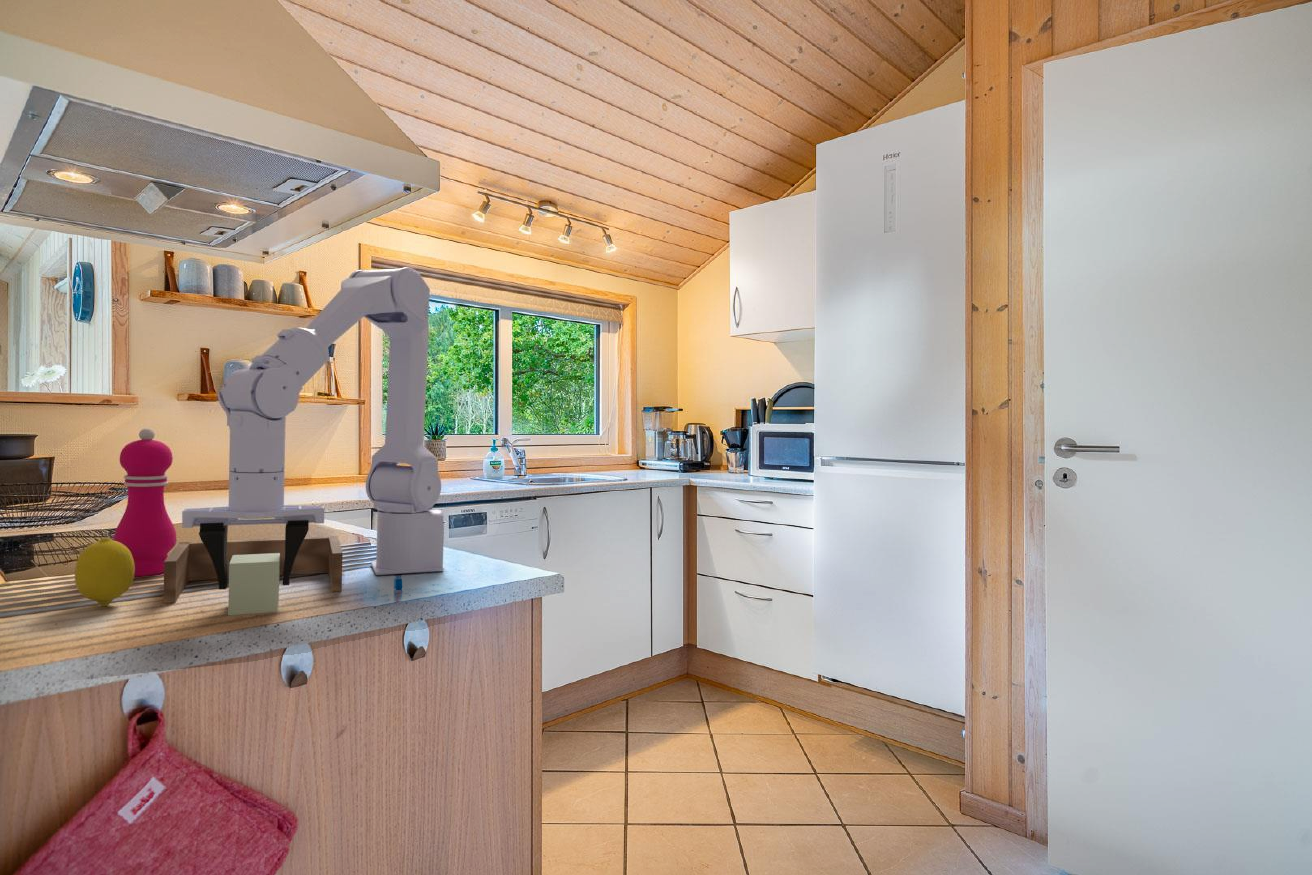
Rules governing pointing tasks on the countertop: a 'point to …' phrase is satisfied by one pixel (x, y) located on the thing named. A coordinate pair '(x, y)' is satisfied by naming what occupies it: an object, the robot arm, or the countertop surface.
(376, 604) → the countertop surface
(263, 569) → the block
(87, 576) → the lemon
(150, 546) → the pepper mill
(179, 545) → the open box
